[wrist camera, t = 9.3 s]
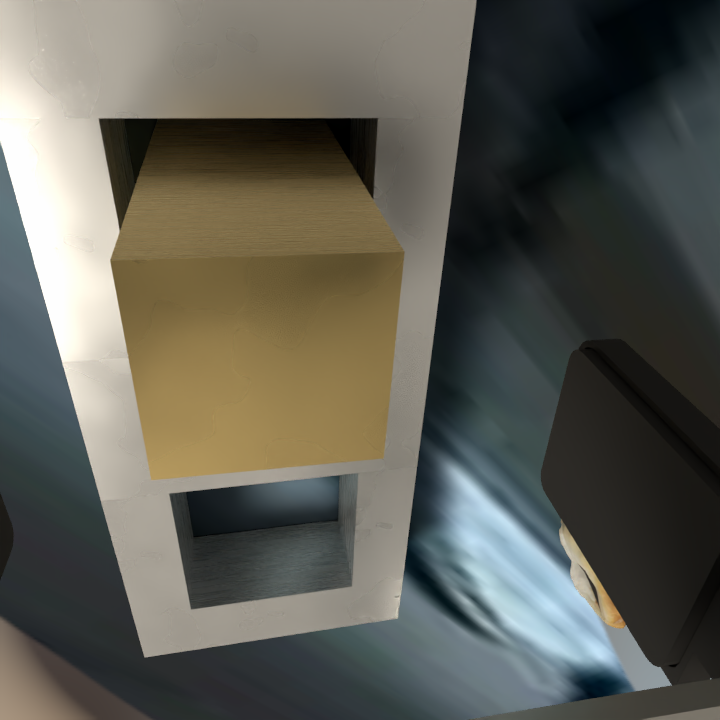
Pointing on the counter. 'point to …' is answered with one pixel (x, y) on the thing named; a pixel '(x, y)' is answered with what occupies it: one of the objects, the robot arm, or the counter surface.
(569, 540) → the pastry
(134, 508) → the board with square holes
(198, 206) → the wooden block
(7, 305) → the counter surface
